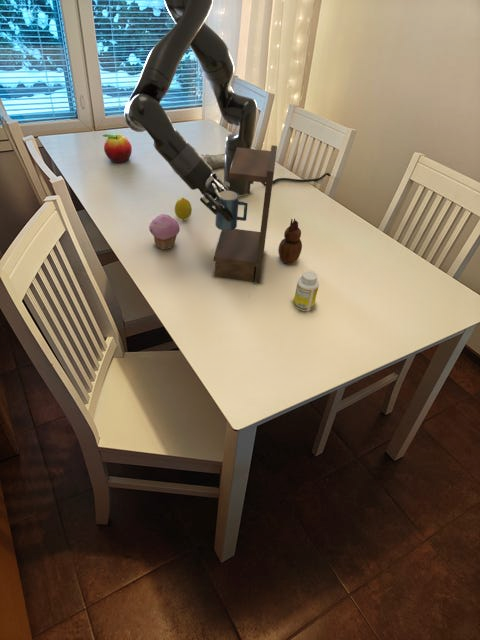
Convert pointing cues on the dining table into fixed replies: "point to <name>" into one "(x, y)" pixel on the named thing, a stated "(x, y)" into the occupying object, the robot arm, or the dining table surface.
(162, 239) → the cupcake
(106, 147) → the fruit
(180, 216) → the lemon
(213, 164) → the elongated rock
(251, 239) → the shelf
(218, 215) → the mug
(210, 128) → the dining table surface
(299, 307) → the supplement bottle
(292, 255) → the wooden figurine
